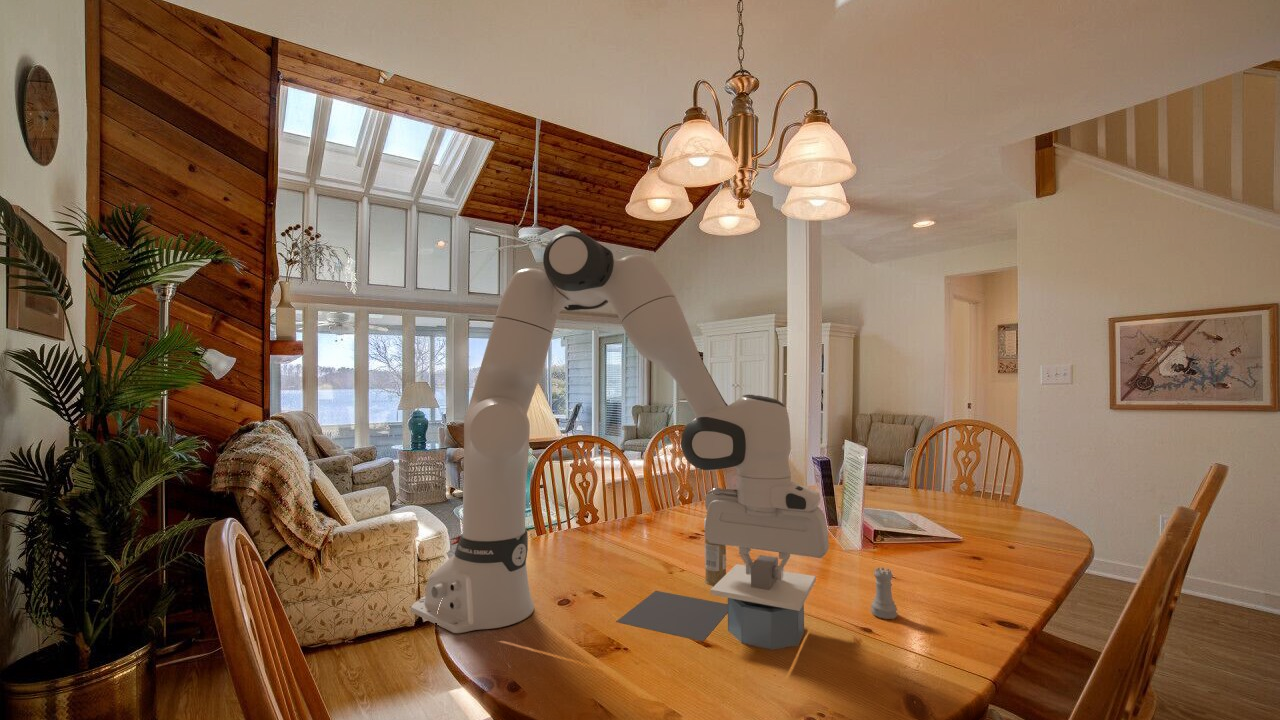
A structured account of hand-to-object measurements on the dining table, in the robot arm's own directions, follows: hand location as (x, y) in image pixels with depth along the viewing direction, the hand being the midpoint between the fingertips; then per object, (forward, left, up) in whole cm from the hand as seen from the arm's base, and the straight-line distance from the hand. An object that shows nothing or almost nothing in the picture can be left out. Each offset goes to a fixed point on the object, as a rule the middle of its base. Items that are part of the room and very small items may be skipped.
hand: (764, 576), depth 91 cm
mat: (-16, 0, -9) cm, 18 cm away
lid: (0, 0, -2) cm, 2 cm away
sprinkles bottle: (-15, +18, -10) cm, 25 cm away
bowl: (0, 0, -9) cm, 9 cm away
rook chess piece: (+17, +17, -10) cm, 26 cm away
